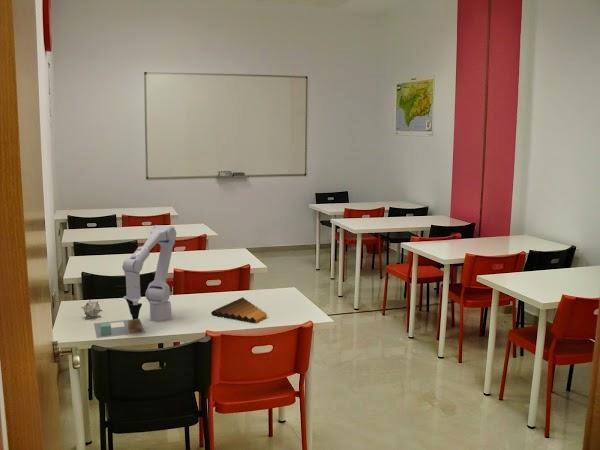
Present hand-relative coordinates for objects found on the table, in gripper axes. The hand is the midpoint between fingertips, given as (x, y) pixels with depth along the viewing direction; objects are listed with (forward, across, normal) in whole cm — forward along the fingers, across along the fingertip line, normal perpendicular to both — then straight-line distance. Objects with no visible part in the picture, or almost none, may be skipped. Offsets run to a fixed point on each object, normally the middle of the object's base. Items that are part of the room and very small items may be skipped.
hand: (134, 316), depth 261 cm
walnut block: (+6, 0, 0) cm, 6 cm away
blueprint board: (+7, -6, -6) cm, 11 cm away
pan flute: (+8, -10, +54) cm, 56 cm away
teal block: (+6, 0, -12) cm, 13 cm away
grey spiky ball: (+7, -28, -16) cm, 33 cm away
